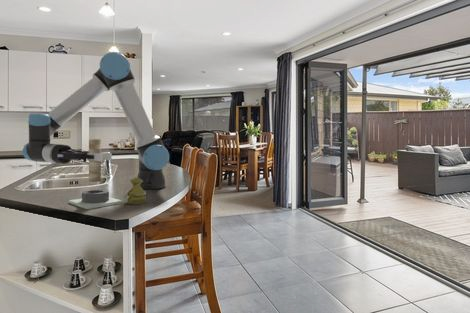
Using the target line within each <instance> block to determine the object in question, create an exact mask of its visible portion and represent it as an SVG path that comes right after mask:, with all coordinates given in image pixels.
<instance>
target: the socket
mask: <svg viewBox="0 0 470 313" xmlns="http://www.w3.org/2000/svg"><path fill="white" fill-rule="evenodd" d="M68 204H71V205H74V206H76V207H79V208H82V209H85V210H92V209H96V208H103V207H108V206H114V205H119V204H120V205H121V204H123V200H121V199H117V198H113V197H111V196H110V191H109V190H108V189H87V190H82V191H81V198H77V199H70V200H68Z"/></svg>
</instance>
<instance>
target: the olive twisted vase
mask: <svg viewBox="0 0 470 313" xmlns="http://www.w3.org/2000/svg"><path fill="white" fill-rule="evenodd" d="M142 182H143V180H142V179H139V178H138V177H137V176H136V177H133V178H131V179H130V180H129V183H131V184H132V186H131V187H130V188H129V189H128V190H127V191H126V192H125V193H126V204H128V205H143V204H145V203H147V199H146V198H147V197H146V194H147V191H146V189H142V188H141V187H140V184H141V183H142Z"/></svg>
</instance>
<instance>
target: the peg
mask: <svg viewBox="0 0 470 313" xmlns="http://www.w3.org/2000/svg"><path fill="white" fill-rule="evenodd" d="M88 151H89V153H97V154H101V153H102V139H101V138H89V139H88ZM101 176H102V161H91V160H88V183H89V182H90V183H92V182H93V183H98V182H101V181H102V180H101V179H102V178H101Z"/></svg>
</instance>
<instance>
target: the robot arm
mask: <svg viewBox="0 0 470 313" xmlns="http://www.w3.org/2000/svg"><path fill="white" fill-rule="evenodd" d="M135 81H136V79H135V76H134V74H133V72H132V69H131V64H130V61H129V59H128V58H127V57H126V56H125V55H124V54H122V53H121V52H116V51H110V52H107V53H105V54H104V55H103V56H102V57H101V58H100V62H99V68H98V70H96V71H95V72H94V73H93V74H92V78H91V79H90V80H88V81H86V83H85V84H83V85H82V86H81V87H80V88H77V90H76V91H74V92H73V93H72V94H71V95H69V96H68V97H67V98H66V99H64V100H63V101H62V102H60V103H59V104H58V105H57V106H56V107H54V108H53V109H51V110H50V112H48V113H30V114H28V120H27V123H28V142H27V143H26V144H24V145H23V148H22V150H21V151H22V155H23V157H24V158H25V159H26V160H28V161H31V162H35V163H36V162H40V163H41V162H42V163H51V165H54V164H69V163H70V162H71V161H82V162H83V163H86V162H87V161H89V160H91V161H101V162H103V161H112V159H113V158H112V157H113V154H112V153H113V152H101V154H97V153H89V150H81V149H72V147H71V146H70V145H68V144H61V143H60V144H59V143H51V136H52V135H54V134H55V132H56V131H58V130H59V129H60V128H61V127H62V126H63V125H65V124H66V123H67V122H68V121H70V120H71V119H72V118H73V117H74V116H76V115H77V114H78V113H79V112H81V111H82V110H84V109H85V108H86V107H87V106H88V105H89V104H90V103H92V102H93V101H95V99H97V98H98V97H100V95H102V94H103V93H105V92H109V91H112V92H114V93H115V95H116V98H117V100H118V103H119V104H120V106H121V109H122V111H123V113H124V115H125V118H126V120H127V122H128V124H129V126H130V129H131V130H132V133H133V135H134V138H135V140H136V146H135V148H136V150H137V152H138V171H137V172H138V173H137V175H136V177H138V178H139V179H142V180H143V182H142V183H141V184H140V187H141V188H142V189H143V190H159V189H164V188H166V186H167V183H166V179H165V176H164V172H163V169H164V168H166V166H167V165H168V163H169V161H170V153H169V151H168V150H169V149H167V148H166V147H165V144H164V142H163V141H162V137H160V135H157V134H156V133H155V131H154V129H153V126H152V124H151V121H150V119H149V117H148V115H147V112H146V110H145V108H144V106H143V102H142V101H141V99H140V96H139V95H138V94H139V93H138V92H137V89H136V88H135V85H134V84H135Z"/></svg>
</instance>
